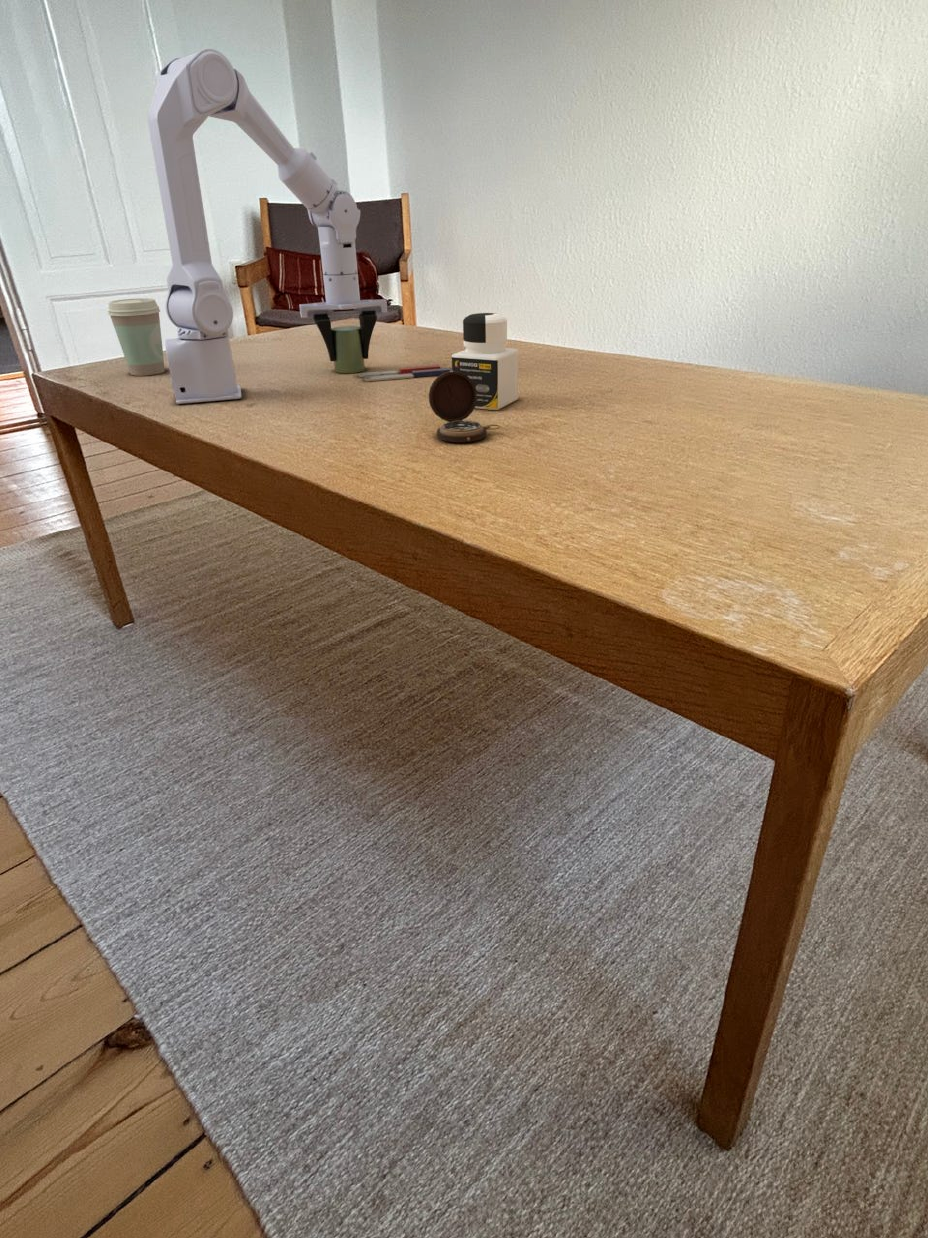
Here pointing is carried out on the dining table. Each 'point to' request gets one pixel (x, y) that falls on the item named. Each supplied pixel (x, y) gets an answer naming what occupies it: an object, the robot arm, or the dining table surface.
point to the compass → (456, 407)
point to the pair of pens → (401, 370)
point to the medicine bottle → (488, 360)
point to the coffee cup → (139, 334)
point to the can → (348, 349)
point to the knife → (410, 374)
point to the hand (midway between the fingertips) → (348, 359)
